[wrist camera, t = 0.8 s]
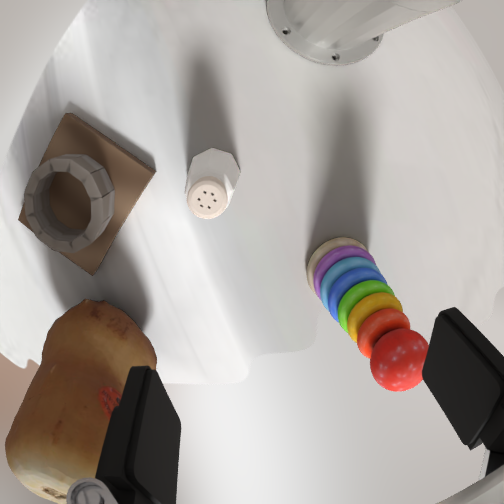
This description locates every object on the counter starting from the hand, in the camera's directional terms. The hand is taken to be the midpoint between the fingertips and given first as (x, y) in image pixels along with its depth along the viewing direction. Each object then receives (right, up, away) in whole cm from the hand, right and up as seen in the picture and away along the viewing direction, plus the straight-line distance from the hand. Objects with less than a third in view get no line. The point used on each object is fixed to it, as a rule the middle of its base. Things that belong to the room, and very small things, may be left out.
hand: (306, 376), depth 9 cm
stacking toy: (+8, +2, +27) cm, 28 cm away
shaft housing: (-20, +10, +21) cm, 31 cm away
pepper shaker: (-6, +12, +22) cm, 25 cm away
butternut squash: (-20, -6, +28) cm, 35 cm away
